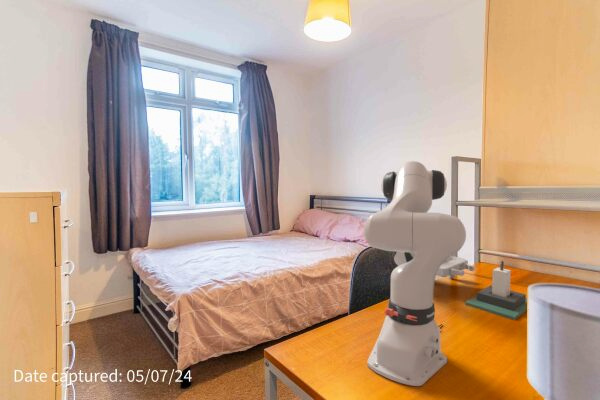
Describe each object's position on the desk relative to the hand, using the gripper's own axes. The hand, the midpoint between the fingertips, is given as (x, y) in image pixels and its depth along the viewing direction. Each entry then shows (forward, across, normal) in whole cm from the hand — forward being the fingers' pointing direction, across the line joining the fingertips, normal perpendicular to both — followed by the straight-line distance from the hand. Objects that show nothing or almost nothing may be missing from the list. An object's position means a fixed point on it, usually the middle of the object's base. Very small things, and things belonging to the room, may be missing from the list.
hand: (468, 271), depth 124 cm
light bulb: (-13, +13, +10) cm, 21 cm away
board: (+12, 0, +10) cm, 15 cm away
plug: (+12, 0, +9) cm, 15 cm away
